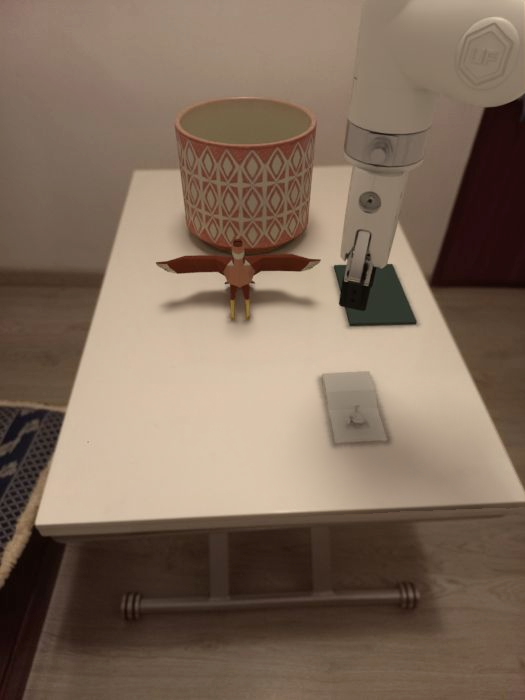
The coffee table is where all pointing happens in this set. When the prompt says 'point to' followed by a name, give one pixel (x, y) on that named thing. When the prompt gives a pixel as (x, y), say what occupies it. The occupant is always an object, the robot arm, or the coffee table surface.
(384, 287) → the felt mat
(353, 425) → the white pop-up card
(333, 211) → the coffee table surface
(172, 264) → the decorative bird
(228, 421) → the coffee table surface
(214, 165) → the planter
